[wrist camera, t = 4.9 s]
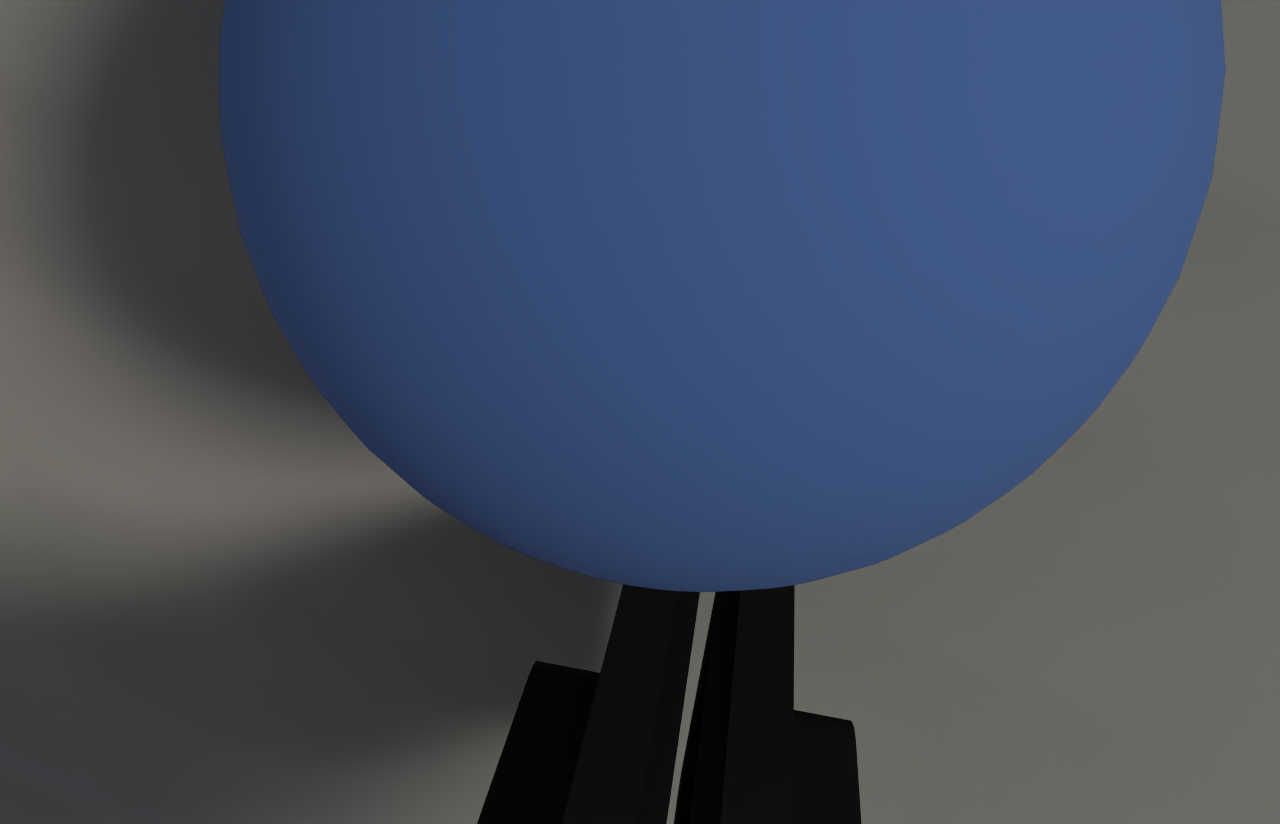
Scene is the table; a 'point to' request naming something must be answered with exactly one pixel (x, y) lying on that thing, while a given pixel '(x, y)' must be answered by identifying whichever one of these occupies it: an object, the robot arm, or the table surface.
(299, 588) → the table surface
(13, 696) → the table surface
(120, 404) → the table surface
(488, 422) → the ball
